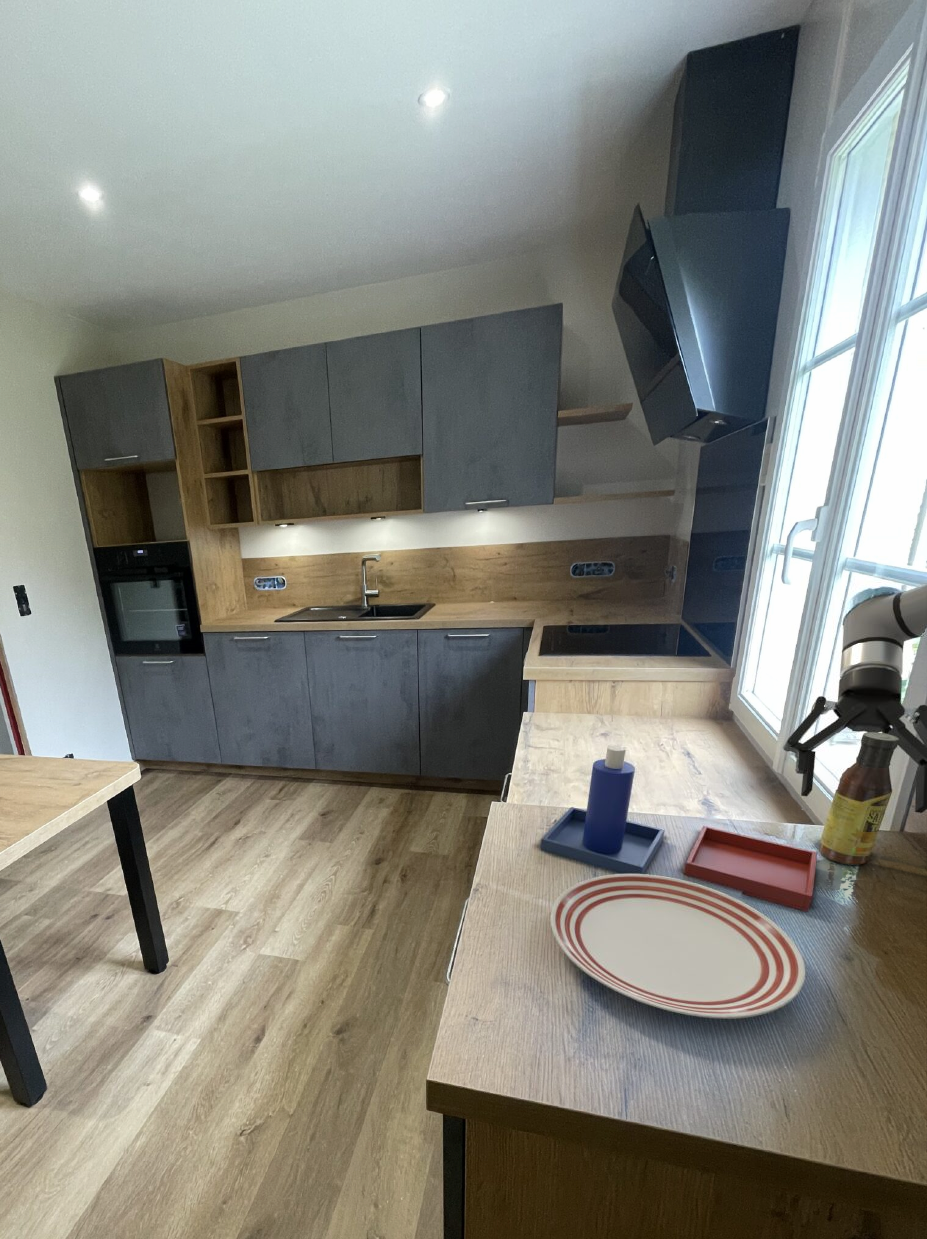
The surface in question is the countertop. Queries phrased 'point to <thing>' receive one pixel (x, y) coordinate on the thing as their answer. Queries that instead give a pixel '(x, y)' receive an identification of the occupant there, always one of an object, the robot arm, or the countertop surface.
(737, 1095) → the countertop surface
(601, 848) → the blue bottle
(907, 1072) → the countertop surface
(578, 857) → the blue tray
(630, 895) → the dinner plate
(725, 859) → the red tray
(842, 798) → the sauce bottle
